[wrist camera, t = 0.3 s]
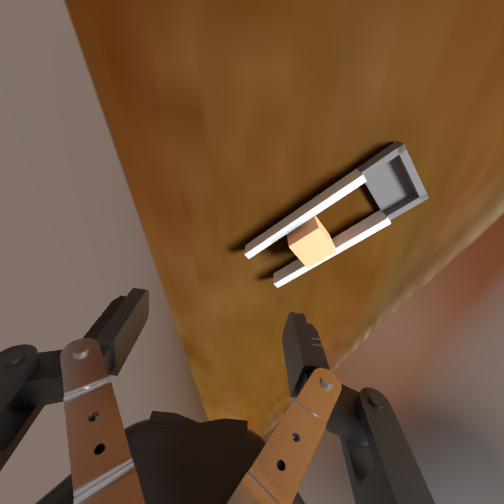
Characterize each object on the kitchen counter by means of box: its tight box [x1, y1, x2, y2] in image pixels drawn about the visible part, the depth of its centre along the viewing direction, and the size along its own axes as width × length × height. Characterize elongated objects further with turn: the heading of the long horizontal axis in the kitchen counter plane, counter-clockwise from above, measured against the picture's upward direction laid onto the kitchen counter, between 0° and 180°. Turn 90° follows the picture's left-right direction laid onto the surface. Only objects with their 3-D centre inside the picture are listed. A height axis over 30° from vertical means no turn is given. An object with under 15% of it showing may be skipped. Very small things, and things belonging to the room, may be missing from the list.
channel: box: [244, 169, 391, 288], centre depth 34 cm, size 18×8×2 cm, turn 130°
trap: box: [356, 141, 429, 220], centre depth 30 cm, size 5×8×2 cm, turn 40°
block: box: [287, 216, 337, 268], centre depth 34 cm, size 4×4×4 cm
